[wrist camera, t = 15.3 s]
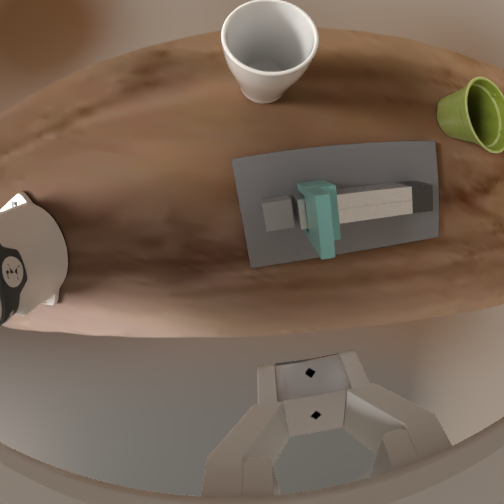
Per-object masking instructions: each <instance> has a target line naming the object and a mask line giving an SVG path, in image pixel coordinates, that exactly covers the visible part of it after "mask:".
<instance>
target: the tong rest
mask: <svg viewBox="0 0 504 504" xmlns="http://www.w3.org/2000/svg"><path fill="white" fill-rule="evenodd" d="M231 160H232V166H233V171H234V177H235V183H236V188H237V194H238V199H239V205H240V210H241V216H242V222H243V227H244V233H245V238H246V244H247V249H248V255H249V260H250V266H251V268H256V267H263V266H269V265H276V264H282V263H288V262H295V261H301V260H307V259H313V258H320V256H319V255H318V253H317V251H316V250H315V248H314V247H313V245H312V243H311V242H310V241H309V239H308V238H307V236H306V234H305V233H304V231H303V229H302V230H301V228H300V227H299V225H298V224H297V222H296V219H295V212H294V204H293V197H292V195H294V194H301V192H299V191H298V187H297V183H303V182H311V181H319V180H325V181H327V182H330V183H333V184H334V185H336V189H339V188H347V187H356V186H365V185H374V184H384V183H394V182H404V181H419V182H423V183H428V184H432V186H433V211H428V212H420V213H412V214H405V215H398V216H391V217H383V218H376V219H369V220H362V221H356V222H349V223H342V224H340V235H341V239H340V240H334V247H335V255H338V254H344V253H350V252H356V251H362V250H367V249H373V248H379V247H385V246H391V245H396V244H402V243H408V242H413V241H419V240H424V239H430V238H435V237H439V187H438V169H437V156H436V146H435V141H397V142H374V143H358V144H345V145H333V146H323V147H313V148H304V149H296V150H288V151H281V152H274V153H267V154H260V155H254V156H248V157H242V158H236V159H231Z"/></svg>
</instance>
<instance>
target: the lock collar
mask: <svg viewBox="0 0 504 504" xmlns="http://www.w3.org/2000/svg"><path fill="white" fill-rule="evenodd" d="M297 187H298V191H299V192H301V193H302V194H303V195H304V196H305V204H306V212H307V220H308V229H303V231H304V233H305V234H306V236H307V238H308V239H309V241H310V242H311V243H312V245H313V247H314V248H315V250H316V251H317V253H318V255H319V256H320V258H321V259H322V260H323V259H329V258H335V247H334V240H340V239H341V235H340V223H339V211H338V201H337V192H336V185H334V184H333V183H330V182H327V181H325V180H319V181H311V182H303V183H297Z"/></svg>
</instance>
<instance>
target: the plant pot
mask: <svg viewBox="0 0 504 504" xmlns="http://www.w3.org/2000/svg"><path fill="white" fill-rule="evenodd" d="M437 106H438V108H437V114H436V115H437V120H438V123H439V125H440V127H441V129H442V130H443V132H444V133H445V134H446V135H448V136H450V137H451V138H454V139H459V140H463V141H467V142H471V143H475V144H478V145H479V146H481V147H483V148H484V149H485V150H487V151H488V152H491V153H500V152H502V151H504V96H503V94H502V92H501V91H500V90H499V88H498V87H497V86H496V85H495V84H494V83H493V82H492V81H490V80H489V79H487V78H485V77H475V78H473V79H472V80H470V82H469V83H468V84H467V85H466V86H465V87H464V88H462V89H461V90H459V91H456V92H454V93H452V94H450V95H448V96H446V97H444V98H442V99H441V100H440V101H439V102H438V105H437Z"/></svg>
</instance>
